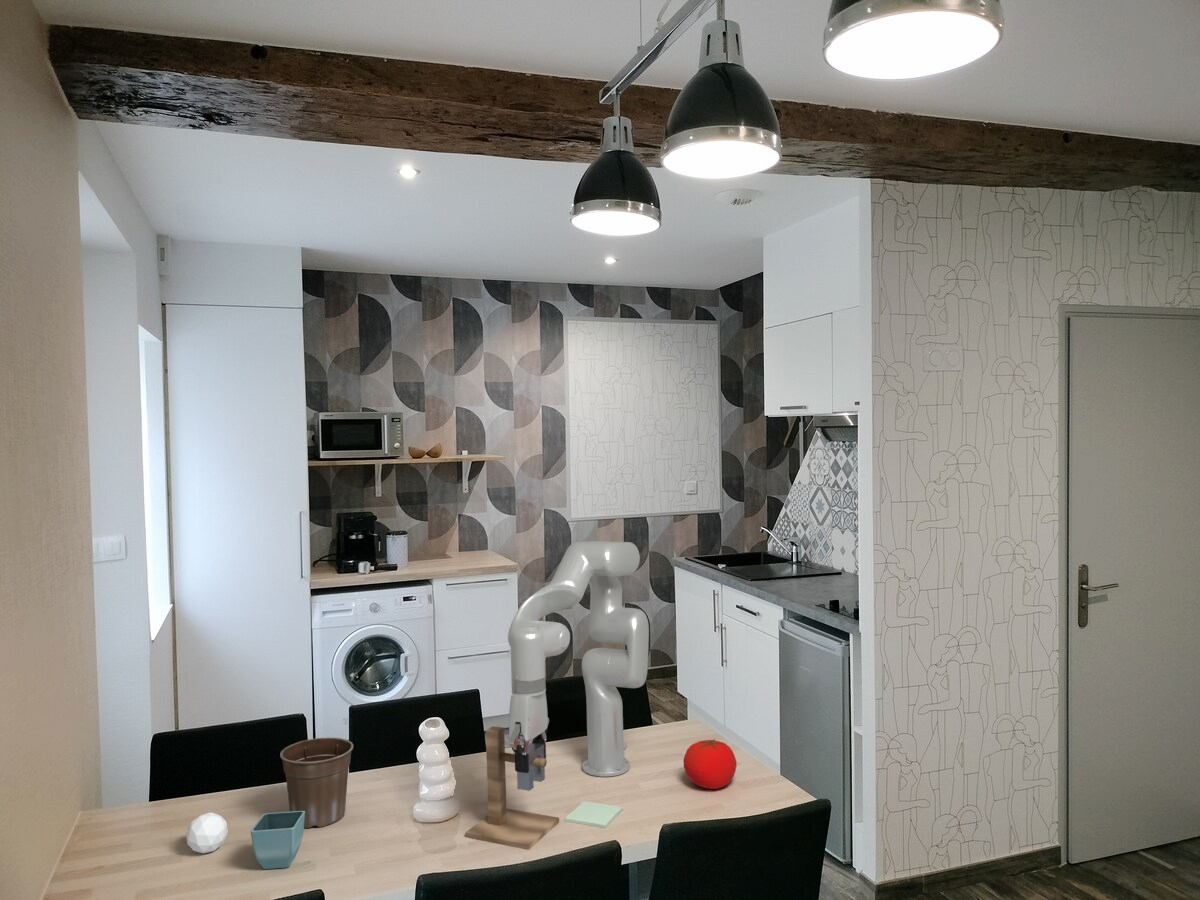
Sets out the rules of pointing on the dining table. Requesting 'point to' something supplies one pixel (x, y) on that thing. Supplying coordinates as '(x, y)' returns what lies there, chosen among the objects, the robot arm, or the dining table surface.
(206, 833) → the white faceted egg
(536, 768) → the link
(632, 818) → the dining table surface
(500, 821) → the stand
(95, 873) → the dining table surface
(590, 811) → the mat
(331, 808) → the plant pot
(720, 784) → the tomato
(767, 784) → the dining table surface
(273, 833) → the flower pot
